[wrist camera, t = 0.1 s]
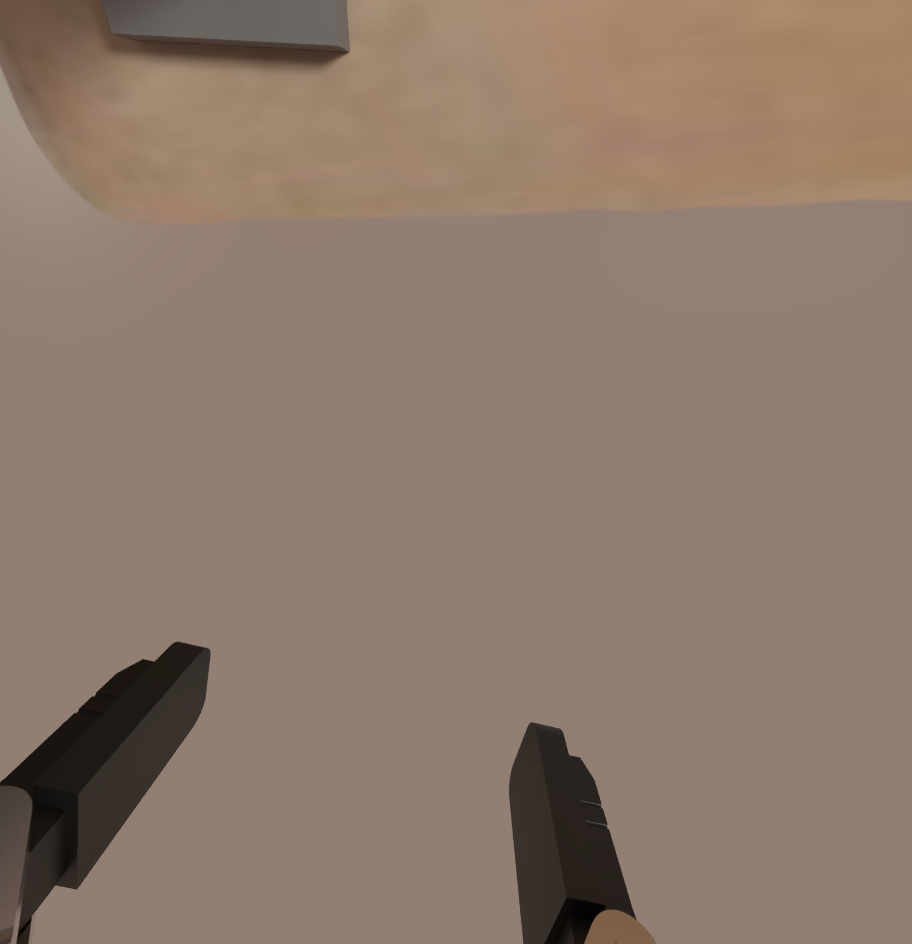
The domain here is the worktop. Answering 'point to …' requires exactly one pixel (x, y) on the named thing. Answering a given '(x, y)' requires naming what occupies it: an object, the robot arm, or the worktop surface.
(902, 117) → the worktop surface
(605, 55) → the worktop surface
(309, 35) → the gray stand
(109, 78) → the worktop surface
